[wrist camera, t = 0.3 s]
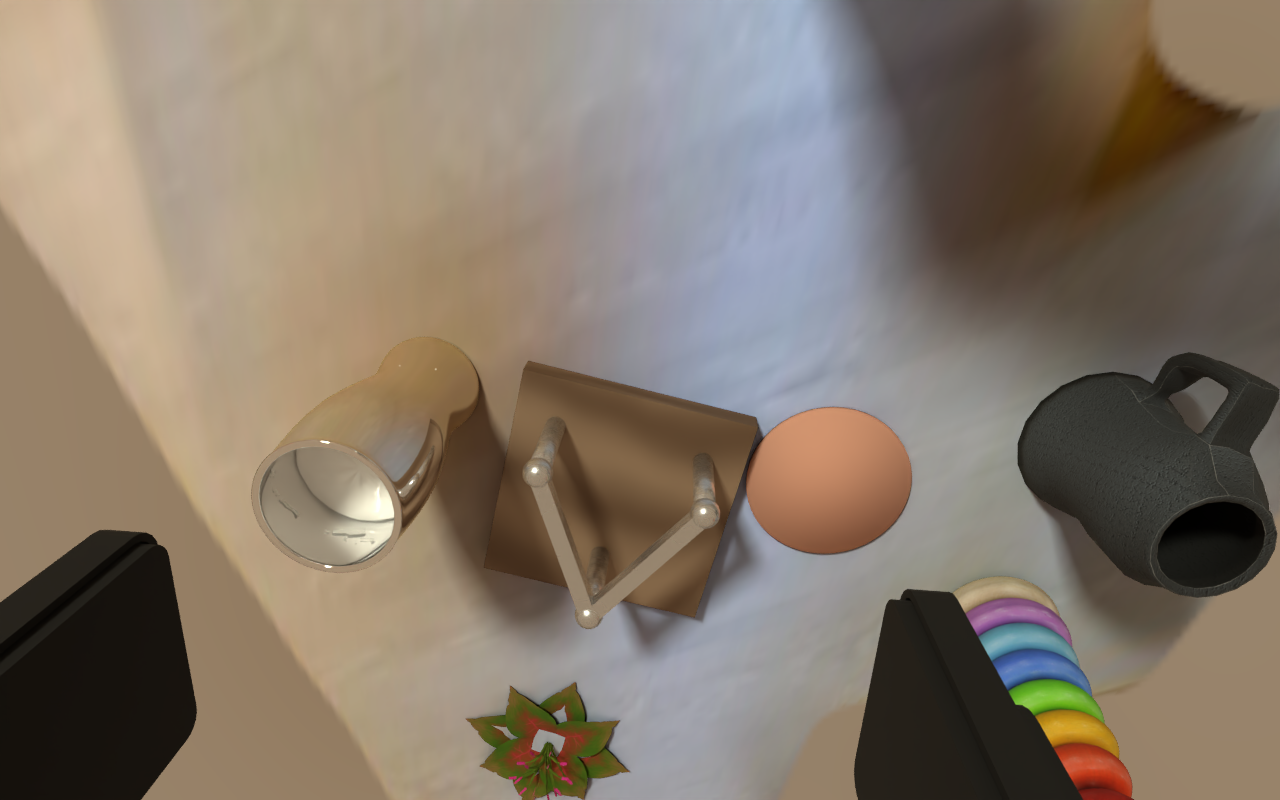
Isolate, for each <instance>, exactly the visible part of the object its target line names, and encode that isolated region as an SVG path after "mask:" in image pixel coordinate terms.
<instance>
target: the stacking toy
mask: <svg viewBox="0 0 1280 800" xmlns="http://www.w3.org/2000/svg"><path fill="white" fill-rule="evenodd" d="M953 594H954V595H955V597H956V598H957V599H958V601H959V603H960V605H961V607H962V608H963V610H964V612H965V614H966V616H967V617H968V619H969V621H970V623H971V625H972V627H973V628H974V630H975V632H976V634H977V636H978V637H979V639H980V641H981V643H982V645H983V646H984V648H985V650H986V652H987V654H988V655H989V657H990V659H991V661H992V663H993V665H994V666H995V668H996V670H997V672H998V674H999V675H1000V677H1001V679H1002V681H1003V683H1004V684H1005V686H1006V688H1007V690H1008V692H1009V693H1010V695H1011V697H1012V699H1013V701H1014V703H1015V704H1016V705H1023V706H1024V707H1026V708H1028V709H1029V710H1030V711H1031V712H1032V713H1033V715H1034V716H1035V717H1036V719H1037V720H1038V722H1039V723H1040V725H1041V727H1042V729H1043V730H1044V732H1045V734H1046V736H1047V737H1048V739H1049V741H1050V743H1051V744H1052V746H1053V748H1054V750H1055V751H1056V753H1057V755H1058V757H1059V758H1060V760H1061V762H1062V764H1063V765H1064V767H1065V769H1066V771H1067V772H1068V774H1069V776H1070V777H1071V779H1072V781H1073V783H1074V784H1075V786H1076V788H1077V790H1078V791H1079V793H1080V795H1081V797H1082V798H1083V800H1134V799H1132V798H1131V796H1132V781H1131V777H1130V775H1129V773H1128V771H1127V769H1126V767H1125V766H1124V764H1123V763H1122V762H1121V761H1120V760H1119V746H1118V743H1117V741H1116V739H1115V737H1114V735H1113V733H1112V732H1111V731H1110V729H1109V728H1108V727H1107V726H1106V725H1105V723H1104V718H1103V714H1102V711H1101V709H1100V707H1099V706H1098V704H1097V703H1096V701H1095V700H1094V699H1093V698H1092V692H1091V687H1090V684H1089V682H1088V680H1087V678H1086V676H1085V674H1084V673H1083V672H1082V670H1081V669H1080V667H1079V662H1078V659H1077V656H1076V654H1075V652H1074V650H1073V648H1072V640H1071V636H1070V633H1069V630H1068V628H1067V626H1066V625H1065V623H1064V622H1063V620H1062V619H1061V618H1060V616H1059V612H1058V610H1057V607H1056V606H1055V604H1054V602H1053V601H1052V599H1051V598H1050V597H1049V596H1048V595H1047V594H1046V593H1045V592H1044V591H1043V590H1042V589H1040V588H1039V587H1038V586H1036V585H1034V584H1032V583H1030V582H1028V581H1025V580H1022V579H1018V578H1013V577H1003V576H998V577H988V578H983V579H979V580H976V581H973V582H970V583H968V584H966V585H964V586H962V587H960V588H958V589H957V590H956V591H954V592H953Z"/></svg>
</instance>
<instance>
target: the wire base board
mask: <svg viewBox="0 0 1280 800" xmlns="http://www.w3.org/2000/svg"><path fill="white" fill-rule="evenodd" d="M550 417H559V418H561V419H562V420H563V421H564V422H565V425H566V428H565V431H564V434H563V437H562V440H561V443H560V446H559V448H558V451H557V454H556V457H555V460H554V463H553V466H552V468H553V478H552V481H553V484H554V487H555V490H556V492H557V495H558V498H559V501H560V504H561V506H562V509H563V512H564V515H565V518H566V520H567V523H568V526H569V529H570V532H571V534H572V537H573V540H574V543H575V546H576V548H577V551H578V554H579V557H580V560H581V562H582V565H583V568H584V571H585V573H587V568H588V563H589V558H590V553H591V551H592V549H593V548H595V547H599V546H600V547H604V548H606V549H607V550H608V552H609V561H608V567H607V574H606V580H605V586H606V585H607V584H608V583H609V582H610V581H612V580H613V579H614V578H615V577H616V576H617V575H618V574H619V573H621V572H622V571H623V570H624V569H625V568H626V567H627V566H629V565H630V564H631V563H632V562H633V561H634V560H635V559H637V558H638V557H639V556H640V555H641V554H642V553H643V552H644V551H646V550H647V549H648V548H649V547H650V546H651V545H652V544H654V543H655V542H656V541H657V540H658V539H659V538H660V537H662V536H663V535H664V534H665V533H666V532H667V531H668V530H670V529H671V528H672V527H673V526H674V525H675V524H676V523H677V522H679V521H680V520H681V519H682V518H683V517H684V516H685V515H687V514H688V513H689V512H690V508H691V506H692V504H693V458H694V457H695V456H696V455H697V454H699V453H707V454H709V455H710V456H711V457H712V460H713V471H714V485H715V499H716V503H717V505H718V506H719V509H720V518H719V521H718V522H717V524H716V525H714V526H713V527H711V528H707V529H704V530H703V531H702V532H700V533H699V534H698V535H697V536H696V537H695V538H693V539H692V540H691V541H690V542H689V543H688V544H686V545H685V546H684V547H683V548H682V549H681V550H680V551H678V552H677V553H676V554H675V555H674V556H673V557H671V558H670V559H669V560H668V561H667V562H666V563H664V564H663V565H662V566H661V567H660V568H659V569H657V570H656V571H655V572H654V573H653V574H652V575H651V576H649V577H648V578H647V579H646V580H645V581H644V582H642V583H641V584H640V585H639V586H638V587H637V588H635V589H634V590H633V591H632V592H631V593H630V594H628V595H627V596H626V597H625V598H624V599H623V601H627V602H631V603H635V604H639V605H644V606H648V607H652V608H656V609H661V610H665V611H669V612H673V613H678V614H682V615H686V616H690V617H694V618H695V615H696V612H697V609H698V606H699V603H700V600H701V597H702V594H703V591H704V588H705V585H706V582H707V579H708V576H709V573H710V570H711V567H712V564H713V561H714V558H715V555H716V552H717V549H718V546H719V543H720V540H721V537H722V534H723V531H724V528H725V525H726V522H727V519H728V516H729V513H730V510H731V507H732V504H733V501H734V498H735V495H736V492H737V489H738V486H739V483H740V480H741V477H742V474H743V471H744V468H745V465H746V462H747V459H748V456H749V453H750V450H751V447H752V444H753V441H754V438H755V435H756V432H757V429H758V425H757V420H756V417H753V416H749V415H745V414H741V413H737V412H732V411H728V410H724V409H720V408H716V407H712V406H708V405H704V404H700V403H696V402H692V401H688V400H684V399H680V398H676V397H672V396H668V395H664V394H660V393H656V392H652V391H648V390H644V389H640V388H636V387H632V386H628V385H624V384H620V383H616V382H612V381H608V380H604V379H599V378H595V377H591V376H587V375H583V374H579V373H575V372H571V371H567V370H563V369H559V368H555V367H551V366H547V365H543V364H539V363H535V362H531V361H528V362H527V364H526V366H525V368H524V369H523V374H522V379H521V384H520V389H519V394H518V399H517V404H516V409H515V414H514V419H513V424H512V429H511V434H510V439H509V444H508V449H507V454H506V459H505V464H504V469H503V474H502V479H501V484H500V489H499V494H498V499H497V504H496V509H495V514H494V519H493V524H492V529H491V534H490V539H489V544H488V549H487V554H486V559H485V564H484V568H487V569H491V570H496V571H500V572H504V573H508V574H513V575H517V576H521V577H525V578H530V579H534V580H538V581H542V582H546V583H551V584H555V585H559V586H563V587H568V585H567V582H566V580H565V577H564V574H563V572H562V569H561V566H560V564H559V561H558V558H557V555H556V553H555V550H554V547H553V545H552V542H551V539H550V536H549V534H548V531H547V528H546V526H545V523H544V520H543V518H542V515H541V512H540V509H539V507H538V504H537V501H536V499H535V496H534V493H533V490H532V488H531V486H529V485H528V484H527V483H526V482H525V481H524V479H523V475H522V472H523V467H524V465H525V464H526V463H527V462H528V461H529V460H530V459H531V458H532V455H533V453H534V450H535V448H536V446H537V443H538V441H539V438H540V436H541V433H542V431H543V428H544V426H545V423H546V421H547V420H548V419H549V418H550ZM605 586H604V587H605Z"/></svg>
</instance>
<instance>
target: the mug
mask: <svg viewBox="0 0 1280 800" xmlns="http://www.w3.org/2000/svg"><path fill="white" fill-rule="evenodd" d="M1203 377H1209V378H1211V379H1213V380H1215V381H1216V382H1218V383H1220V384H1221V385H1223V386H1224V387H1226V388H1227V389H1228V392H1229V393H1228V396H1227V398H1226V400H1225V401H1224V402H1223V403H1222V405H1221V406H1220V408H1219V409H1218V411H1217V412H1216V414H1215V415H1214V417H1213V418H1212V420H1211V421H1210V422H1209V424H1208V425H1207V426H1206V428H1205V429H1204V430H1203V432H1201V433H1199V434H1196V433H1195V432H1194V431H1193V430H1192V429H1190V428H1189V427H1188V426H1187V425H1186V424H1185V423H1184V421H1183V418H1182V417H1181V415H1180V414H1179V413H1178V411H1177V410H1176V408H1175V407H1174V406H1173V404H1172V403H1171V402H1170V401H1169V399H1168V398H1169V396H1170V395H1171V394H1173V393H1176V392H1179V391H1182V390H1184V389H1185V388H1187V387H1189V386H1190V385H1192V384H1193V383H1195V382H1196V381H1198V380H1199V379H1201V378H1203ZM1278 399H1279V389H1278V388H1277V387H1275V386H1273V385H1272V384H1270V383H1268V382H1267V381H1265V380H1263V379H1261V378H1259V377H1257V376H1255V375H1252V374H1250V373H1248V372H1246V371H1244V370H1242V369H1239V368H1237V367H1234V366H1232V365H1230V364H1227V363H1224V362H1222V361H1217V360H1214V359H1211V358H1209V357H1206V356H1204V355H1200V354H1196V353H1189V352H1188V353H1184V354H1180V355H1176V356H1173V357H1171V358H1170V359H1168V360H1167V361H1166V363H1165V364H1164V365H1163V367H1162V369H1161V371H1160V372H1159V374H1158V376H1157V378H1156V380H1155V381H1154V383H1153V384H1152V383H1150V382H1148V381H1146V380H1144V379H1142V378H1141V377H1139V376H1135V375H1129V374H1123V373H1116V372H1109V373H1101V374H1093V375H1086V376H1084V377H1082V378H1079V379H1077V380H1074V381H1072V382H1070V383H1067V384H1065V385H1062V386H1061V387H1060V388H1058V389H1057V390H1056V391H1054V392H1053V393H1052V394H1050V395H1049V396H1048V397H1046V398H1045V399H1044V400H1042V401H1041V402H1040V403H1039V405H1038V406H1037V407H1036V409H1035V410H1034V411H1033V413H1032V414H1031V415H1030V417H1029V418H1028V419H1027V420H1026V422H1025V425H1024V428H1023V430H1022V433H1021V436H1020V438H1019V441H1018V466H1019V469H1020V471H1021V474H1022V477H1023V479H1024V482H1025V484H1026V485H1027V486H1028V487H1029V488H1030V489H1031V490H1032V491H1033V492H1034V493H1035V494H1036V495H1037V496H1038V497H1039V498H1040V499H1042V500H1043V501H1045V502H1047V503H1048V504H1050V505H1052V506H1054V507H1055V508H1057V509H1059V510H1061V511H1063V512H1065V513H1067V514H1069V515H1071V516H1073V517H1076V518H1077V519H1078V520H1079V521H1080V523H1081V524H1082V526H1083V527H1084V529H1085V530H1086V532H1087V534H1088V535H1089V536H1090V537H1091V538H1092V539H1093V540H1094V541H1095V543H1096V544H1097V545H1098V546H1099V547H1100V548H1101V549H1102V551H1103V552H1104V553H1105V554H1106V555H1107V556H1108V557H1109V559H1110V560H1111V561H1112V562H1113V563H1114V564H1115V565H1116V566H1117V567H1118V568H1119V569H1120V570H1121V571H1122V572H1123V574H1124V575H1126V576H1128V577H1130V578H1132V579H1134V580H1136V581H1138V582H1140V583H1142V584H1144V585H1151V586H1157V587H1163V588H1165V589H1167V590H1169V591H1171V592H1173V593H1176V594H1179V595H1184V596H1191V597H1197V598H1199V597H1209V596H1218V595H1220V594H1223V593H1226V592H1229V591H1232V590H1235V589H1237V588H1239V587H1240V586H1242V585H1243V584H1245V583H1247V582H1248V581H1250V580H1252V579H1253V578H1254V577H1255V576H1256V575H1257V574H1258V573H1259V572H1260V571H1261V570H1262V569H1263V568H1264V567H1265V566H1266V565H1267V563H1268V561H1269V559H1270V558H1271V556H1272V554H1273V552H1274V550H1275V546H1276V539H1277V531H1276V526H1275V523H1274V519H1273V516H1272V513H1271V512H1270V511H1269V503H1268V500H1267V496H1266V492H1265V489H1264V485H1263V482H1262V480H1261V478H1260V475H1259V473H1258V470H1257V468H1256V466H1255V463H1254V461H1253V458H1252V456H1251V454H1250V448H1251V446H1252V444H1253V443H1254V441H1255V440H1256V438H1257V437H1258V435H1259V434H1260V432H1261V431H1262V429H1263V428H1264V426H1265V425H1266V424H1267V422H1268V420H1269V418H1270V416H1271V414H1272V411H1273V409H1274V407H1275V405H1276V403H1277V401H1278Z"/></svg>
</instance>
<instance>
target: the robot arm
mask: <svg viewBox="0 0 1280 800" xmlns="http://www.w3.org/2000/svg"><path fill="white" fill-rule="evenodd" d="M196 714H197V709H196V701H195V696H194V690H193V685H192V679H191V674H190V669H189V664H188V658H187V653H186V647H185V641H184V636H183V631H182V625H181V620H180V615H179V609H178V603H177V599H176V593H175V588H174V582H173V576H172V571H171V566H170V561H169V555H168V552H167V550H166V549H165V548H164V547H163V546H161V545H158V544H157V541H156V540H155V538H154V537H153V536H152V535H150V534H148V533H142V532H129V531H116V530H99V531H97V532H95V533H93V534H92V535H90V536H89V537H88V538H86V539H85V540H84V541H82V542H81V543H80V544H78V545H77V546H76V547H74V548H73V549H72V550H70V551H69V552H67V553H66V554H65V555H63V556H62V557H61V558H60V559H58V560H57V561H55V562H54V563H53V564H51V565H50V566H49V567H47V568H46V569H45V570H43V571H42V572H41V573H39V574H38V575H37V576H35V577H34V578H32V579H31V580H30V581H28V582H27V583H26V584H24V585H23V586H22V587H20V588H19V589H18V590H16V591H15V592H14V593H12V594H11V595H10V596H9V597H7V598H6V599H4V600H3V601H2V602H0V800H141V799H142V798H143V796H144V795H145V794H146V792H147V791H148V790H149V789H150V787H151V786H152V785H153V783H154V782H155V781H156V779H157V778H158V777H159V775H160V774H161V773H162V772H163V770H164V769H165V768H166V766H167V765H168V764H169V762H170V761H171V760H172V759H173V757H174V756H175V754H176V753H177V752H178V751H179V749H180V748H181V747H182V746H183V744H184V743H185V742H186V740H187V739H188V737H189V736H190V734H191V732H192V730H193V727H194V724H195V721H196ZM854 777H855V788H856V793H857V797H858V800H1083V798H1082V797H1081V795H1080V793H1079V791H1078V790H1077V788H1076V786H1075V784H1074V783H1073V781H1072V779H1071V777H1070V776H1069V774H1068V772H1067V771H1066V769H1065V767H1064V765H1063V764H1062V762H1061V760H1060V758H1059V757H1058V755H1057V753H1056V751H1055V750H1054V748H1053V746H1052V744H1051V743H1050V741H1049V739H1048V737H1047V736H1046V734H1045V732H1044V730H1043V729H1042V727H1041V725H1040V723H1039V722H1038V720H1037V719H1036V717H1035V716H1034V715H1033V713H1032V712H1031V711H1030V710H1029V709H1028V708H1026V707H1024V706H1023V705H1016V704H1015V703H1014V701H1013V699H1012V697H1011V695H1010V693H1009V692H1008V690H1007V688H1006V686H1005V684H1004V683H1003V681H1002V679H1001V677H1000V675H999V674H998V672H997V670H996V668H995V666H994V665H993V663H992V661H991V659H990V657H989V655H988V654H987V652H986V650H985V648H984V646H983V645H982V643H981V641H980V639H979V637H978V636H977V634H976V632H975V630H974V628H973V627H972V625H971V623H970V621H969V619H968V617H967V616H966V614H965V612H964V610H963V608H962V607H961V605H960V603H959V601H958V599H957V598H956V597H955V595H954V594H953V593H950V592H940V591H926V590H913V589H907V590H905V591H904V592H903V594H902V596H901V599H900V600H892V599H891V600H889V601H888V603H887V605H886V608H885V612H884V617H883V622H882V627H881V632H880V637H879V642H878V648H877V653H876V658H875V663H874V668H873V673H872V678H871V683H870V688H869V693H868V698H867V703H866V708H865V713H864V718H863V723H862V728H861V733H860V738H859V743H858V748H857V753H856V759H855V768H854Z"/></svg>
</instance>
